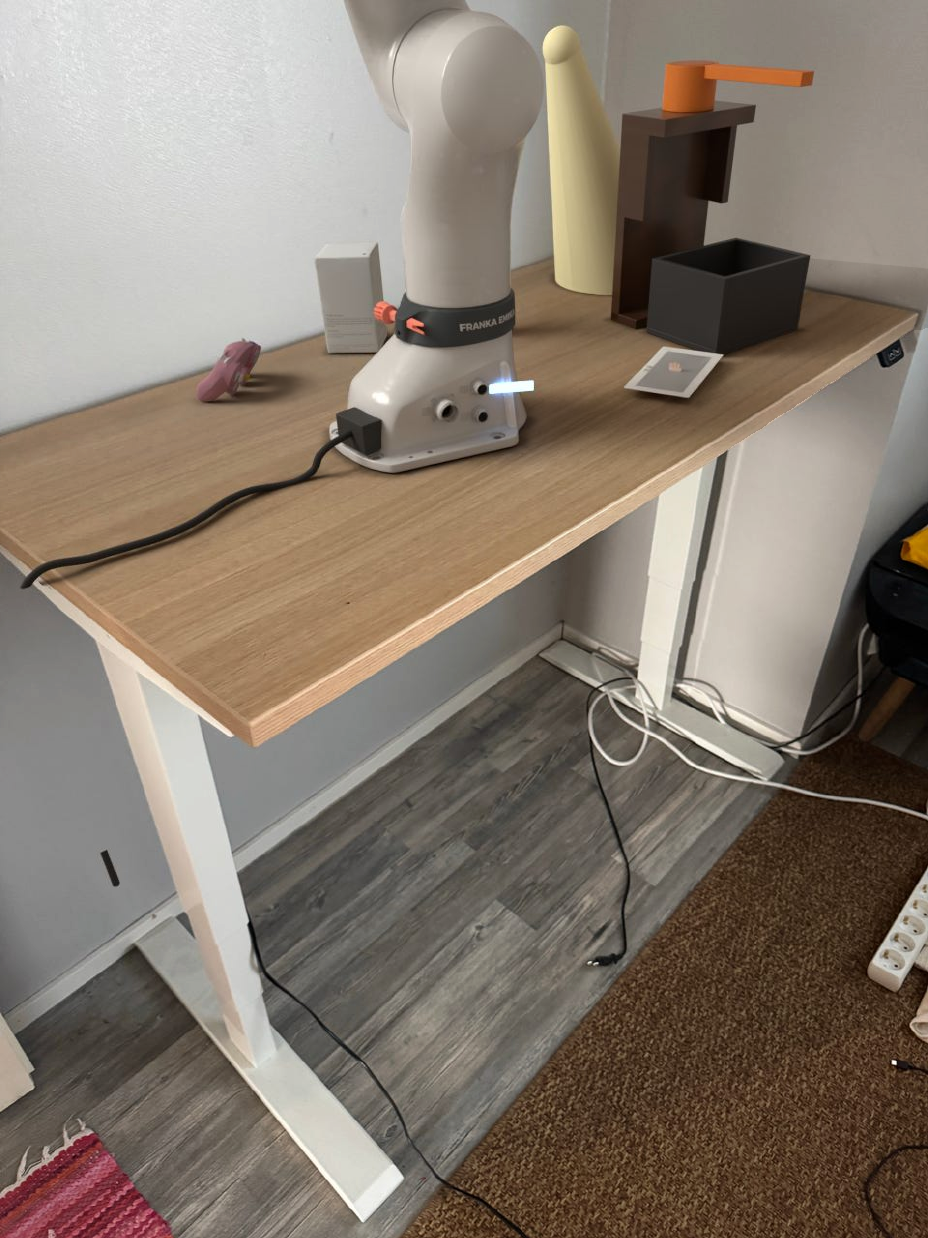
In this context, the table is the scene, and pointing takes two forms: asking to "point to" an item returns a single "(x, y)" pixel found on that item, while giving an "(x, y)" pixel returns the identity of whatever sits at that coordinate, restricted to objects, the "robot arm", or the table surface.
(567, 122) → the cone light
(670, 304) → the basket
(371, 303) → the white packaging box
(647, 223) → the shelf stand
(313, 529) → the table surface
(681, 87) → the orange croquet mallet
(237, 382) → the video game controller
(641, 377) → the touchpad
